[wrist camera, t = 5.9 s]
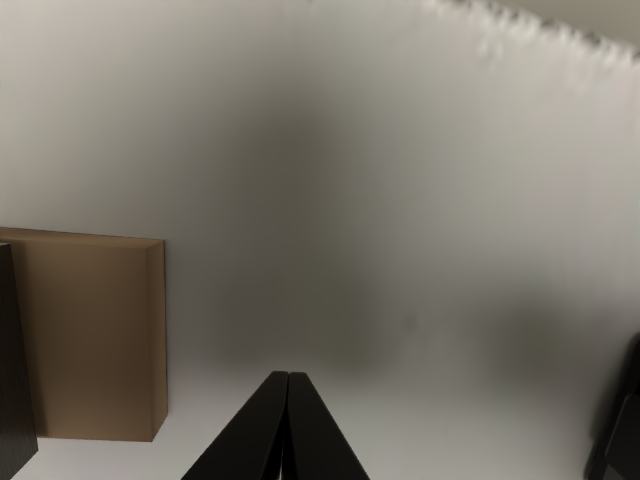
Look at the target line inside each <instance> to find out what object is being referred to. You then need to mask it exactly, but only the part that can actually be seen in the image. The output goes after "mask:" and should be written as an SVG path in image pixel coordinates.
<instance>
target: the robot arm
mask: <svg viewBox="0 0 640 480" xmlns="http://www.w3.org/2000/svg"><path fill="white" fill-rule="evenodd" d="M288 381H289V382H288ZM284 428H285V429H284ZM283 440H284V441H283ZM282 451H283V453H282ZM281 463H282V466H281ZM280 472H281V480H370V478H369V477H368V475H367V473H366V472H365V470H364V468H363V467H362V465H361V463H360V462H359V460H358V459H357V457H356V455H355V454H354V452H353V450H352V449H351V447H350V445H349V444H348V442H347V440H346V439H345V437H344V435H343V434H342V432H341V430H340V429H339V427H338V425H337V424H336V422H335V420H334V419H333V417H332V415H331V414H330V412H329V410H328V409H327V407H326V405H325V404H324V402H323V400H322V399H321V397H320V395H319V394H318V392H317V390H316V389H315V387H314V385H313V384H312V382H311V380H310V379H309V377H308V375H307V374H306V373H304V372H290V374H289V373H288V372H286V371H273V372H271V374H270V375H269V376H268V377H267V378H266V379H265V381H264V382H263V383H262V384H261V385H260V386H259V388H258V389H257V390H256V391H255V392H254V394H253V395H252V396H251V397H250V398H249V399H248V401H247V402H246V403H245V404H244V405H243V407H242V408H241V409H240V410H239V411H238V412H237V414H236V415H235V416H234V417H233V418H232V419H231V421H230V422H229V423H228V424H227V425H226V427H225V428H224V429H223V430H222V431H221V432H220V434H219V435H218V436H217V437H216V438H215V440H214V441H213V442H212V443H211V444H210V445H209V447H208V448H207V449H206V450H205V451H204V453H203V454H202V455H201V456H200V457H199V458H198V460H197V461H196V462H195V463H194V464H193V465H192V467H191V468H190V469H189V470H188V471H187V473H186V474H185V475H184V476H183V477H182V478H181V480H280ZM588 480H640V340H639V342H638V343H637V345H636V348H635V350H634V353H633V356H632V359H631V361H630V364H629V367H628V370H627V372H626V375H625V378H624V381H623V384H622V386H621V389H620V392H619V395H618V397H617V400H616V403H615V406H614V409H613V411H612V414H611V417H610V420H609V422H608V425H607V428H606V431H605V433H604V436H603V439H602V442H601V445H600V447H599V450H598V453H597V456H596V458H595V461H594V464H593V467H592V470H591V472H590V475H589V478H588Z"/></svg>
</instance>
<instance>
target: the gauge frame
mask: <svg viewBox="0 0 640 480" xmlns="http://www.w3.org/2000/svg"><path fill="white" fill-rule="evenodd" d="M0 243H10V244H11V252H12V259H13V266H14V274H15V281H16V288H17V296H18V303H19V311H20V318H21V325H22V333H23V340H24V348H25V355H26V362H27V370H28V377H29V385H30V392H31V399H32V407H33V414H34V422H35V429H36V436H37V438H61V439H86V440H111V441H137V442H152V441H153V439H154V438H155V436H156V434H157V432H158V431H159V429H160V427H161V425H162V424H163V422H164V420H165V418H166V417H167V382H166V333H165V285H164V240H154V239H141V238H129V237H116V236H104V235H91V234H79V233H66V232H54V231H41V230H29V229H16V228H4V227H0Z"/></svg>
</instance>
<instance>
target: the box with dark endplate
mask: <svg viewBox="0 0 640 480" xmlns="http://www.w3.org/2000/svg"><path fill="white" fill-rule="evenodd" d="M37 451H38V444H37V436H36V429H35V422H34V414H33V407H32V399H31V392H30V385H29V377H28V370H27V362H26V355H25V348H24V340H23V333H22V325H21V318H20V311H19V303H18V296H17V288H16V281H15V274H14V266H13V259H12V252H11V244H10V243H0V480H10V479H11V478H12V477H13V476H14V475H15V474H16V473H17V472H18V471H19V470H20V469H21V468H22V467H23V466H24V465H25V464H26V463H27V462H28V461H29V460H30V459H31V458H32V457H33V456H34V455H35V454H36V452H37Z"/></svg>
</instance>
